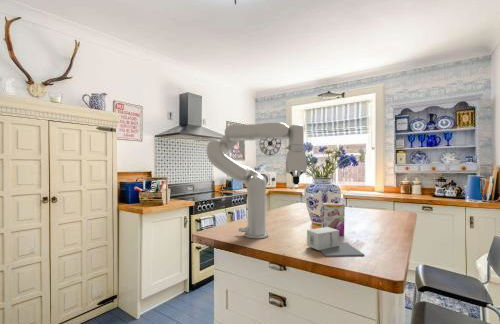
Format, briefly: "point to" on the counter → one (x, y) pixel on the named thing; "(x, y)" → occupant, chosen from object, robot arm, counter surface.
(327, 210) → the candy bar box
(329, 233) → the supplement box
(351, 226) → the counter surface
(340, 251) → the mat
